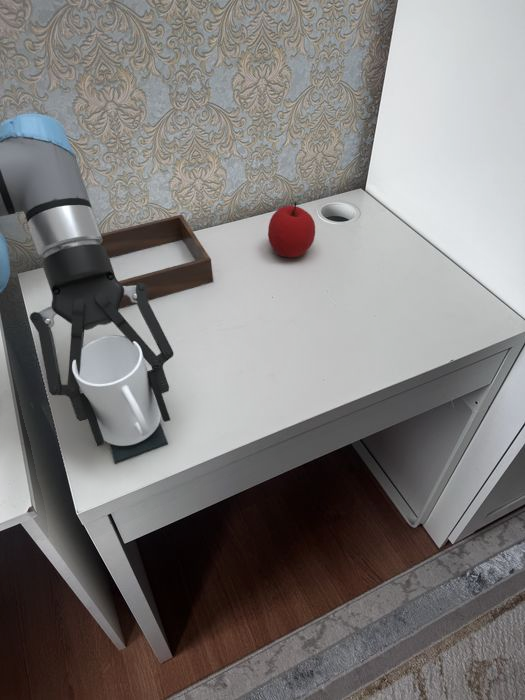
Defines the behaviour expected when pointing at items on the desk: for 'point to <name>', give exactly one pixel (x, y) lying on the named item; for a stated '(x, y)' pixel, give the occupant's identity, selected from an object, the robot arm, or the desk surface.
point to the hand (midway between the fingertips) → (134, 431)
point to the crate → (154, 236)
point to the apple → (291, 231)
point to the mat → (139, 446)
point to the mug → (118, 389)
